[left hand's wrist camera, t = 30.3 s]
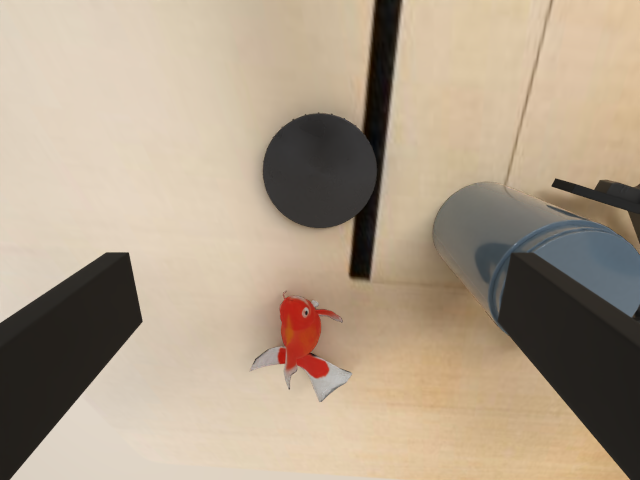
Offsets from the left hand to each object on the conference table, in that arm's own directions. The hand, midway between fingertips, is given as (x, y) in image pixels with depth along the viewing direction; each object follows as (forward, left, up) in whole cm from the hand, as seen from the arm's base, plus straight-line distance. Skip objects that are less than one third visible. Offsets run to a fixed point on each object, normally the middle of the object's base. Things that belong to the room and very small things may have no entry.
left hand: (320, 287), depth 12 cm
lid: (0, 0, -25) cm, 25 cm away
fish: (+11, -16, -26) cm, 33 cm away
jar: (+18, +6, -26) cm, 32 cm away
